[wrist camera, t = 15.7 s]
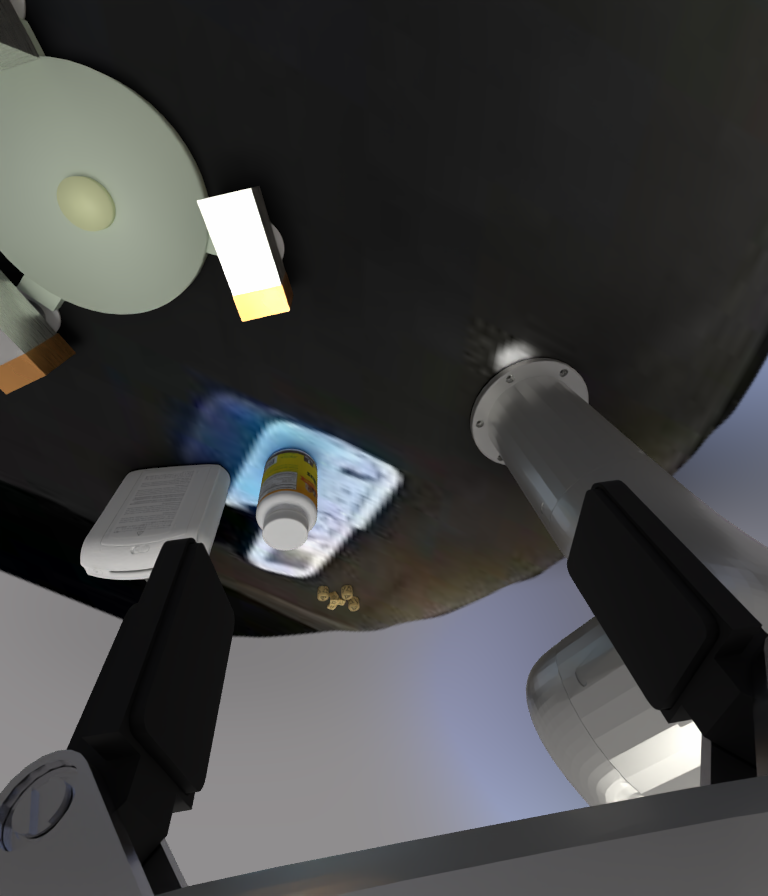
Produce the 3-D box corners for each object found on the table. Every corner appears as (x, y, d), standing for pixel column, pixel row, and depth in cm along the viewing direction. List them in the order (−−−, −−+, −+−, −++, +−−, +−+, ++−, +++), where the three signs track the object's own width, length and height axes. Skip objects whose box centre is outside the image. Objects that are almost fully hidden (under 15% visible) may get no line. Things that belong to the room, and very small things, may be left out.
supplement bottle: (319, 486, 47) (319, 555, 39) (268, 489, 46) (257, 560, 38) (316, 444, 44) (315, 509, 36) (261, 446, 43) (247, 514, 35)
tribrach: (294, 253, 34) (292, 259, 31) (109, 401, 39) (96, 415, 36) (7, -137, 22) (-30, -173, 20) (-208, 147, 27) (-258, 145, 24)
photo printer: (136, 500, 45) (82, 596, 35) (122, 467, 43) (59, 561, 32) (234, 490, 46) (210, 582, 36) (225, 458, 44) (197, 547, 33)
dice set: (316, 583, 57) (316, 595, 55) (353, 576, 57) (354, 587, 56) (323, 605, 60) (324, 617, 58) (359, 599, 60) (360, 610, 58)
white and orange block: (215, 195, 30) (195, 200, 26) (262, 185, 30) (251, 188, 26) (253, 300, 35) (242, 321, 30) (294, 291, 35) (289, 310, 30)
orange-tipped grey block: (-34, 276, 31) (-99, 296, 26) (4, 256, 31) (-54, 272, 26) (48, 363, 35) (6, 394, 31) (83, 347, 35) (45, 375, 30)
